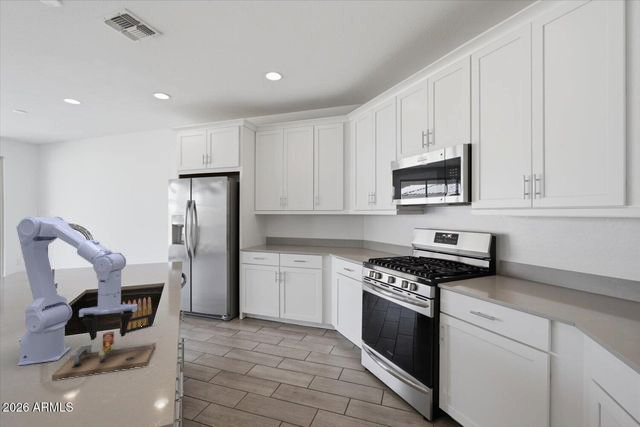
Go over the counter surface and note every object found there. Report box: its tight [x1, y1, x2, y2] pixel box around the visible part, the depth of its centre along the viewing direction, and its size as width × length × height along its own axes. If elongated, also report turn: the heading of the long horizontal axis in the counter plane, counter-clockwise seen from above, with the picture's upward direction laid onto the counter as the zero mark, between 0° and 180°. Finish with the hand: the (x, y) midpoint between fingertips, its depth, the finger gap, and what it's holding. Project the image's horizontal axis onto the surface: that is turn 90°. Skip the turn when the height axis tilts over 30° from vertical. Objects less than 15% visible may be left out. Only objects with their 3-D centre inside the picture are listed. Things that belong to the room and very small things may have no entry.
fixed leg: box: [73, 344, 93, 367], centre depth 82 cm, size 2×7×3 cm, turn 20°
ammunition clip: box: [119, 296, 153, 335], centre depth 110 cm, size 11×2×12 cm, turn 141°
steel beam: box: [68, 342, 153, 360], centre depth 87 cm, size 21×2×2 cm, turn 110°
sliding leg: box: [99, 331, 116, 363], centre depth 85 cm, size 3×7×6 cm, turn 20°
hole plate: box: [51, 342, 156, 381], centre depth 85 cm, size 22×13×2 cm, turn 110°
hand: (108, 337), depth 86 cm, fingers open, 7 cm apart
